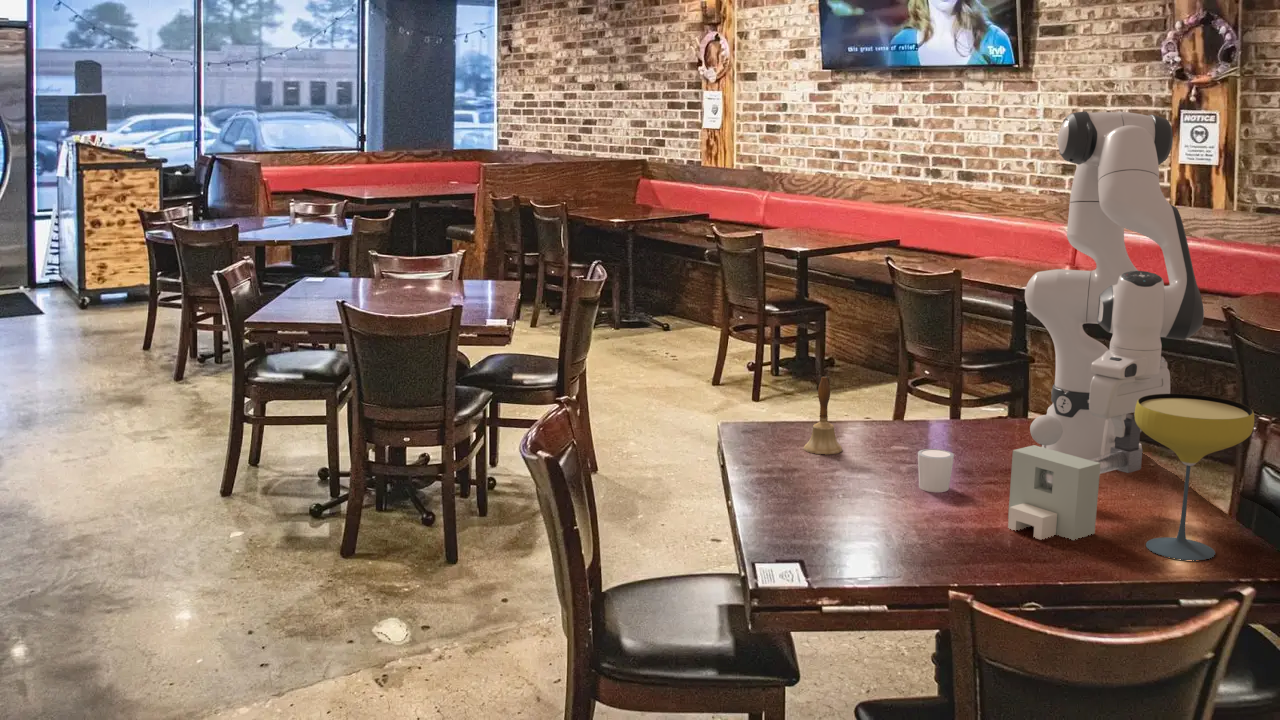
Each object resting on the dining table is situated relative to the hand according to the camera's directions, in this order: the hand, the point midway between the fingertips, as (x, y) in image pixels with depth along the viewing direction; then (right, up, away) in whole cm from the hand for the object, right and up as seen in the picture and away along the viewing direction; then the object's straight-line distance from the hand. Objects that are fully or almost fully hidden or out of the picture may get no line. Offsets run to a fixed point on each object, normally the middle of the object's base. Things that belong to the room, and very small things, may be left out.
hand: (1127, 434), depth 234 cm
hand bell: (-51, -6, +38) cm, 64 cm away
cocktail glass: (+1, -18, -21) cm, 28 cm away
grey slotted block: (-17, -16, -9) cm, 25 cm away
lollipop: (-12, -12, +11) cm, 20 cm away
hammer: (-9, -8, -5) cm, 12 cm away
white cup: (-33, -11, +12) cm, 37 cm away
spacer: (-22, -16, -12) cm, 30 cm away
